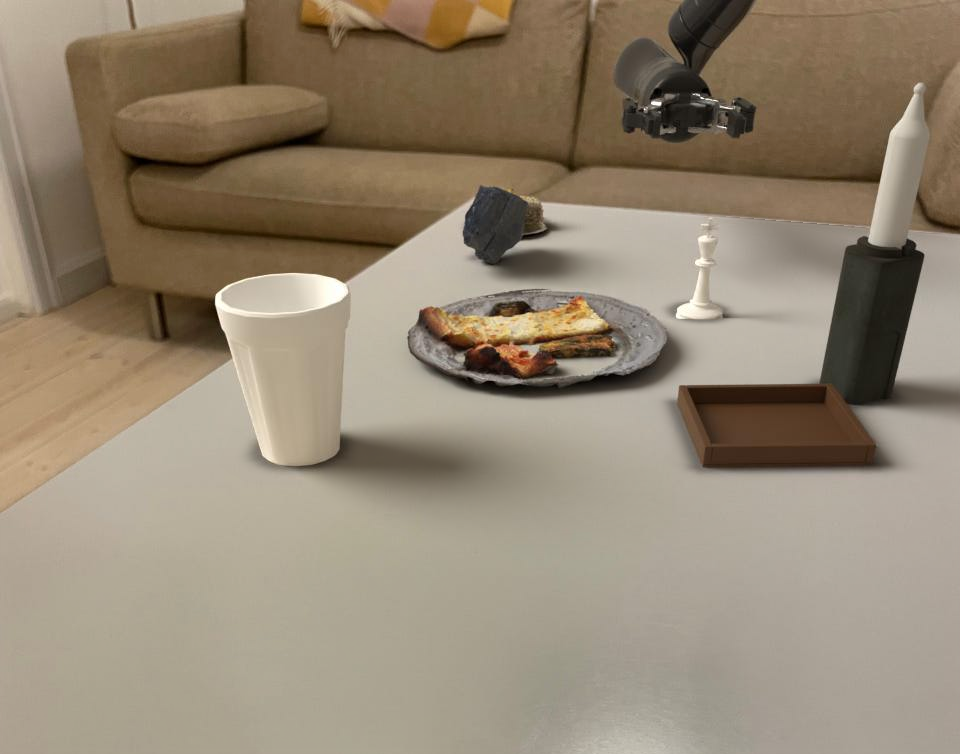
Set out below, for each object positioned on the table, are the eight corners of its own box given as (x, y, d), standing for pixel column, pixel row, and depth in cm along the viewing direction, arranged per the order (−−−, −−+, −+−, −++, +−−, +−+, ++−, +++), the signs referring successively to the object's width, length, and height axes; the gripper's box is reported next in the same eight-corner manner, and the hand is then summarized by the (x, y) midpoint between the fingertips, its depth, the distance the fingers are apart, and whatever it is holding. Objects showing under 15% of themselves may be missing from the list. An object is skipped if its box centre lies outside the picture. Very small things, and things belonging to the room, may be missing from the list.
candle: (849, 413, 90) (918, 90, 75) (811, 391, 94) (870, 80, 79) (895, 403, 92) (972, 85, 77) (857, 382, 96) (923, 76, 81)
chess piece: (675, 308, 113) (685, 211, 107) (721, 310, 112) (734, 212, 106) (676, 324, 109) (686, 224, 103) (724, 325, 108) (737, 225, 102)
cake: (457, 236, 138) (454, 192, 136) (504, 221, 145) (502, 180, 142) (515, 242, 133) (513, 197, 130) (562, 227, 139) (561, 184, 136)
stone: (482, 246, 132) (482, 162, 127) (529, 248, 132) (531, 163, 126) (461, 279, 121) (460, 188, 116) (512, 282, 120) (514, 190, 115)
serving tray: (827, 408, 91) (832, 383, 90) (870, 472, 81) (877, 444, 80) (676, 409, 91) (679, 384, 90) (701, 473, 81) (705, 446, 80)
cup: (228, 440, 87) (202, 281, 79) (344, 421, 90) (330, 266, 82) (253, 492, 79) (227, 323, 71) (379, 469, 82) (367, 304, 74)
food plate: (428, 412, 91) (427, 373, 89) (391, 324, 109) (389, 290, 107) (698, 387, 95) (703, 349, 93) (619, 306, 113) (621, 273, 111)
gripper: (615, 65, 121) (633, 88, 108) (738, 64, 121) (770, 87, 108) (610, 136, 125) (627, 166, 112) (729, 135, 125) (759, 165, 112)
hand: (697, 128), depth 110 cm, fingers open, 8 cm apart
